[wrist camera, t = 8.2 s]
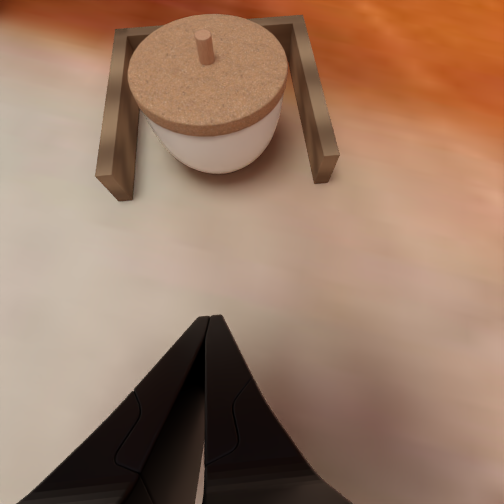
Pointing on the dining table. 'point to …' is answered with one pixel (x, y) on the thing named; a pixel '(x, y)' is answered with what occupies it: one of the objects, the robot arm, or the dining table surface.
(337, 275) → the dining table surface
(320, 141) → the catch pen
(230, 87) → the lidded jar
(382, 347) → the dining table surface
